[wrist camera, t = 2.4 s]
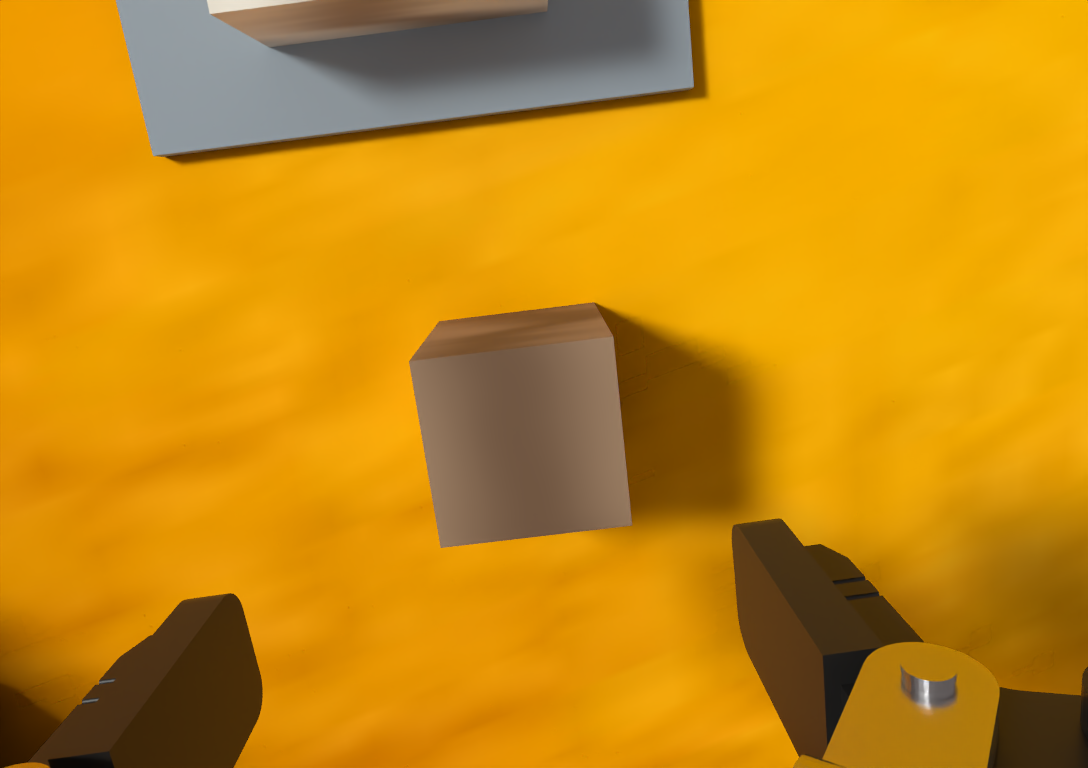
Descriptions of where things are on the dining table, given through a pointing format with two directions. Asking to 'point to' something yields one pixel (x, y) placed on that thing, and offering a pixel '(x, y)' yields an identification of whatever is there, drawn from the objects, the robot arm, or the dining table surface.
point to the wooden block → (355, 16)
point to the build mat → (392, 70)
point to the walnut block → (522, 425)
